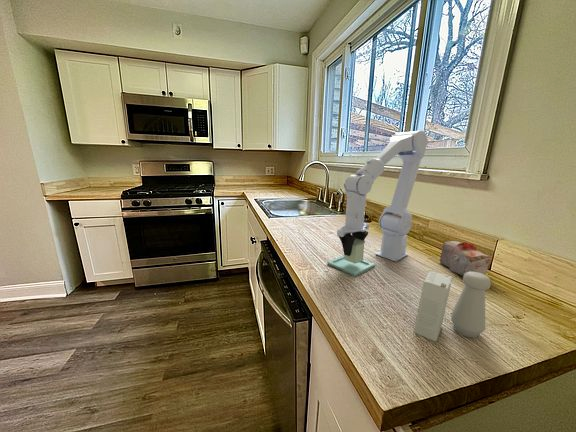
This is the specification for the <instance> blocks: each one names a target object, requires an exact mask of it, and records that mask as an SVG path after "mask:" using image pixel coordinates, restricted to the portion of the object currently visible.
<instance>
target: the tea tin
mask: <svg viewBox="0 0 576 432" xmlns="http://www.w3.org/2000/svg"><path fill="white" fill-rule="evenodd" d="M365 243H366V241H365V239H364V240H360V239H357V238H356V239H355V241H354V243H353V246H352V251H351V255H350V256H347V255H345V254H344V253H343V256H344V260H347V261H349V262H352V263H355V264H356V263H358V262H360V261H362V260H364V254H365V252H364V251H365Z"/></svg>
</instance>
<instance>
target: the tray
mask: <svg viewBox="0 0 576 432" xmlns="http://www.w3.org/2000/svg"><path fill="white" fill-rule="evenodd" d="M326 264H327V265H328V266H330V267H331V268H332V267H333V268H335V269H336V270H339V271H341V272H343V273H346V274H347V275H350V276H353V278H354V277H355V278H356V277H358V276H360V275H361V274H364V273H365V272H367V271H369V270H372V269H373V268H375V266H376V264H375V263H373V262H370V261H368V260H365V259H363V260H362V261H360V262H358V263H356V264H355V263H352V262H349V261H347V260H344V255H342V256H339V257H337V258H334V259H332V260H329V261H327V263H326Z"/></svg>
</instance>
